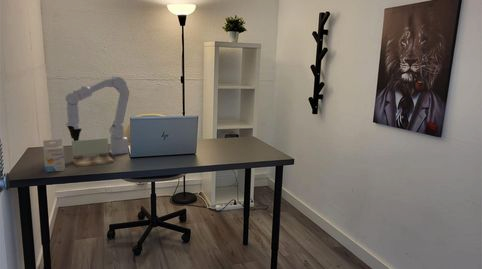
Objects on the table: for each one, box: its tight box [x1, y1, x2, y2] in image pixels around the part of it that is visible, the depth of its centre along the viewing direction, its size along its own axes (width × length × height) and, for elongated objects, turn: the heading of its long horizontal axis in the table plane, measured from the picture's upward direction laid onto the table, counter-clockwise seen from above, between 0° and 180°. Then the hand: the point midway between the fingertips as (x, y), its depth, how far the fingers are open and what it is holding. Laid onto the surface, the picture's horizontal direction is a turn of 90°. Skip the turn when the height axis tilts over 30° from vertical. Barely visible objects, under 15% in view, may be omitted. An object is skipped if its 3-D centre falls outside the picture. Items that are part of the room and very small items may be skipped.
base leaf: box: [72, 152, 114, 167], centre depth 191 cm, size 18×11×3 cm, turn 123°
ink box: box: [43, 138, 66, 173], centre depth 174 cm, size 8×5×15 cm, turn 123°
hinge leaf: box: [71, 137, 109, 158], centre depth 195 cm, size 18×10×2 cm
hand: (75, 139), depth 197 cm, fingers open, 7 cm apart
